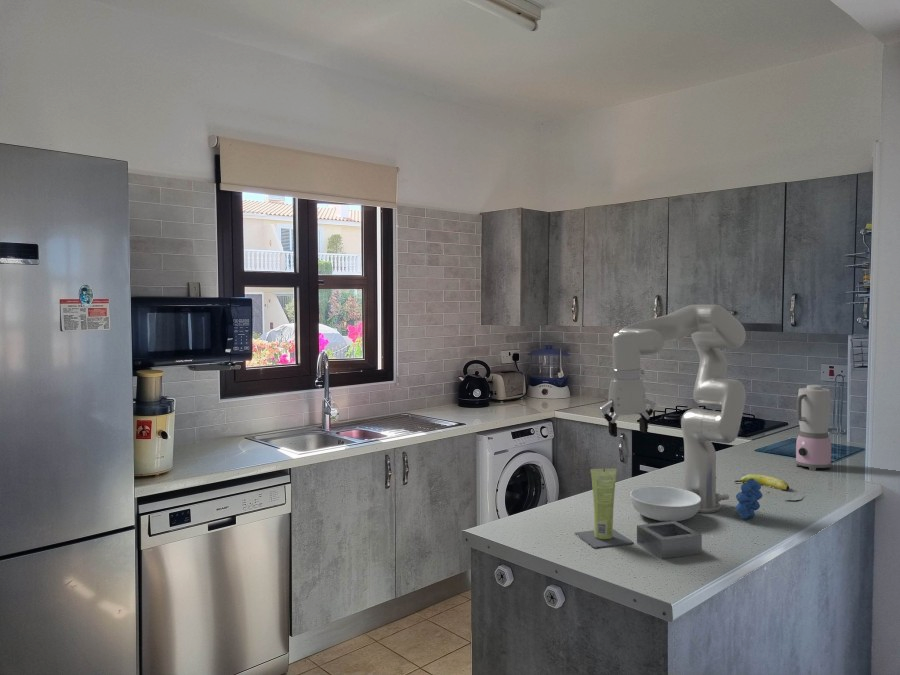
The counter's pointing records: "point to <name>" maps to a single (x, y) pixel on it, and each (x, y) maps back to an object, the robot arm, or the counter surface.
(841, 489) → the counter surface
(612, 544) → the mat
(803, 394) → the blender
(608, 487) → the tube
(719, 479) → the counter surface
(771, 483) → the banana
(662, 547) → the housing
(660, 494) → the serving bowl
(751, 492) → the grapes
